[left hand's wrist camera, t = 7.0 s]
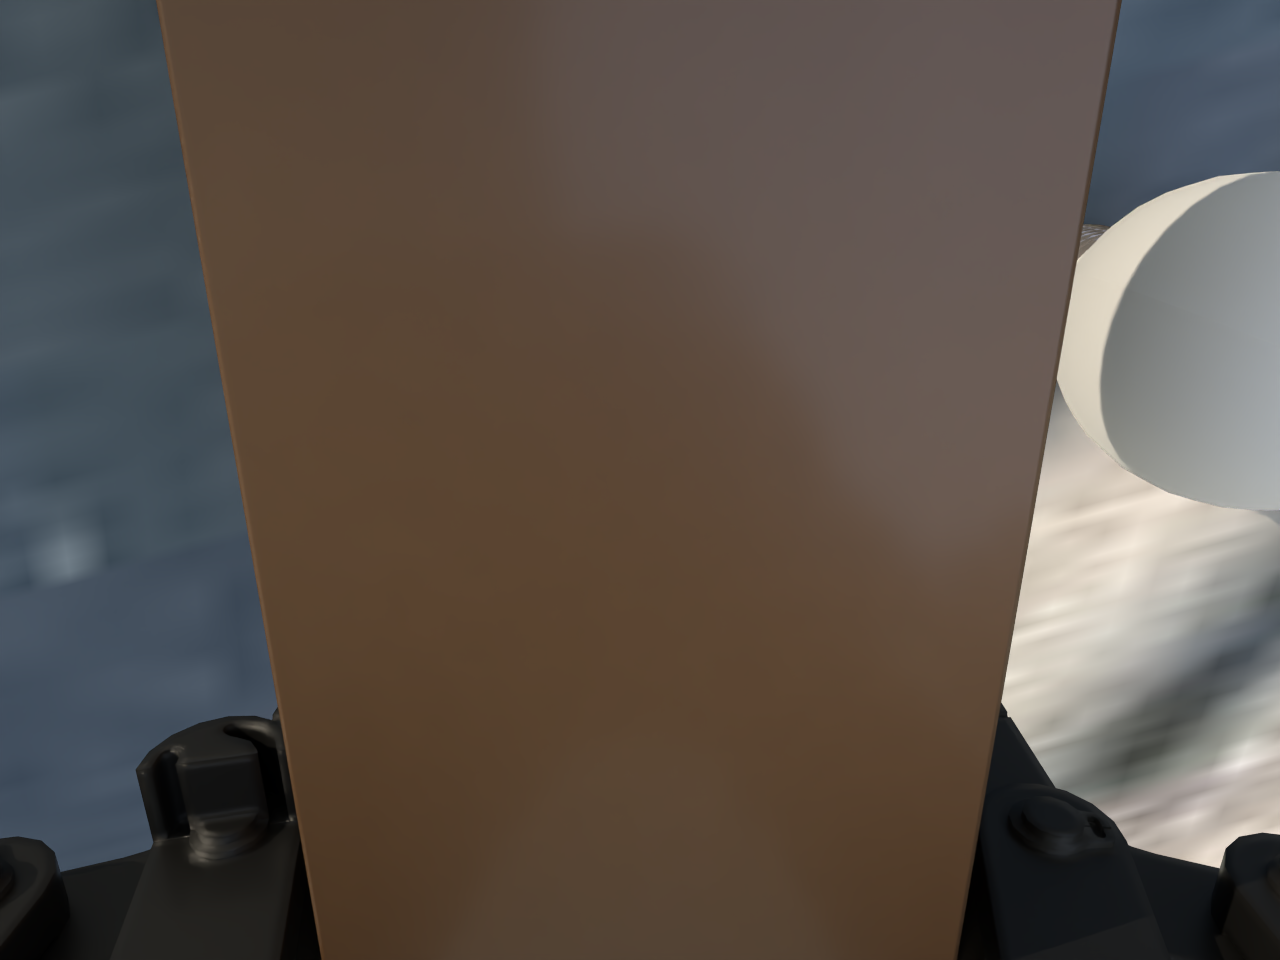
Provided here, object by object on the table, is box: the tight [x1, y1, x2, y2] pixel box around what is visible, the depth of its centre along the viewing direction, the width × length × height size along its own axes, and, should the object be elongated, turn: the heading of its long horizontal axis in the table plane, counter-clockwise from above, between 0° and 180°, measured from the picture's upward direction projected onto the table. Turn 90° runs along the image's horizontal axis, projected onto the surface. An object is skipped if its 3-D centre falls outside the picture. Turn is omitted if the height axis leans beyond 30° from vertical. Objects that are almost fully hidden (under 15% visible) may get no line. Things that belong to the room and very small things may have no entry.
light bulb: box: [1057, 171, 1280, 510], centre depth 20 cm, size 7×7×11 cm
